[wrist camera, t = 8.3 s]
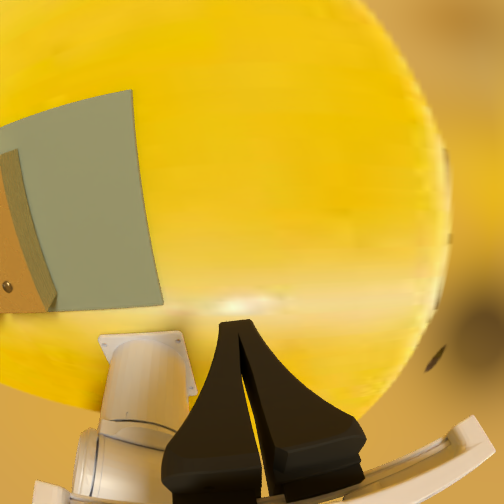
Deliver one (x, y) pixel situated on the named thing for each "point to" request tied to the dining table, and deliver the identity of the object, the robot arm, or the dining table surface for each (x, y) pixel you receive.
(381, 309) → the dining table surface
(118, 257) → the felt mat
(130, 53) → the dining table surface
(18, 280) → the brass leaf
